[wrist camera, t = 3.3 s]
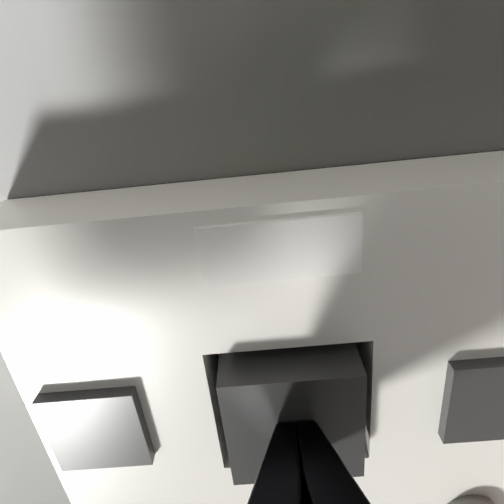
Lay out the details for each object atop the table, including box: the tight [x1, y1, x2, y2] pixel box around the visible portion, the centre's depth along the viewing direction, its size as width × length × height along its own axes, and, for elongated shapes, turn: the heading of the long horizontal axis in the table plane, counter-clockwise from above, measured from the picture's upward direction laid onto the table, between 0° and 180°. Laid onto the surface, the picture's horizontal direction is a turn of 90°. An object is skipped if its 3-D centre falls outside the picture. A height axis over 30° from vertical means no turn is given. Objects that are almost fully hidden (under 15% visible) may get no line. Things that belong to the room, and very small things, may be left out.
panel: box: [0, 150, 504, 504], centre depth 10 cm, size 12×10×2 cm
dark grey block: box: [216, 342, 367, 485], centre depth 10 cm, size 3×3×2 cm
